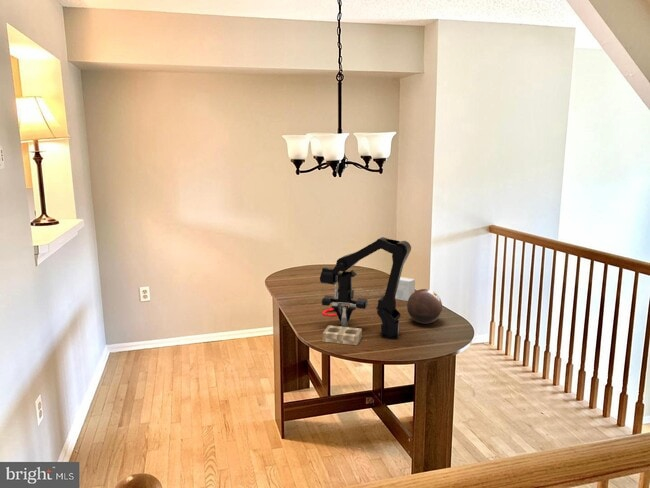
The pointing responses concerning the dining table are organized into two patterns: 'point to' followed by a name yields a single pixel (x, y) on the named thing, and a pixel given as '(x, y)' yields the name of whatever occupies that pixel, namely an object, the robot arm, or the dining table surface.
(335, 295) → the tow hook
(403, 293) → the skincare box
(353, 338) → the pin block
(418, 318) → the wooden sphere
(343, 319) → the metal pin
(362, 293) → the dining table surface
